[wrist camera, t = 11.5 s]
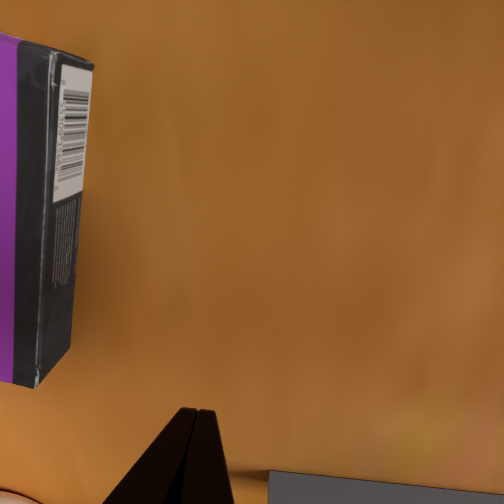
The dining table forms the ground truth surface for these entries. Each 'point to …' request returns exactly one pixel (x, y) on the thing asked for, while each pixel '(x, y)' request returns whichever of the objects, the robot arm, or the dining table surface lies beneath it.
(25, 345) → the box
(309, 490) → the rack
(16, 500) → the wine bottle
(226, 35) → the dining table surface
